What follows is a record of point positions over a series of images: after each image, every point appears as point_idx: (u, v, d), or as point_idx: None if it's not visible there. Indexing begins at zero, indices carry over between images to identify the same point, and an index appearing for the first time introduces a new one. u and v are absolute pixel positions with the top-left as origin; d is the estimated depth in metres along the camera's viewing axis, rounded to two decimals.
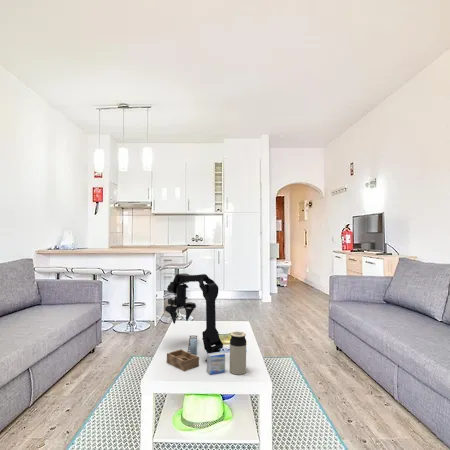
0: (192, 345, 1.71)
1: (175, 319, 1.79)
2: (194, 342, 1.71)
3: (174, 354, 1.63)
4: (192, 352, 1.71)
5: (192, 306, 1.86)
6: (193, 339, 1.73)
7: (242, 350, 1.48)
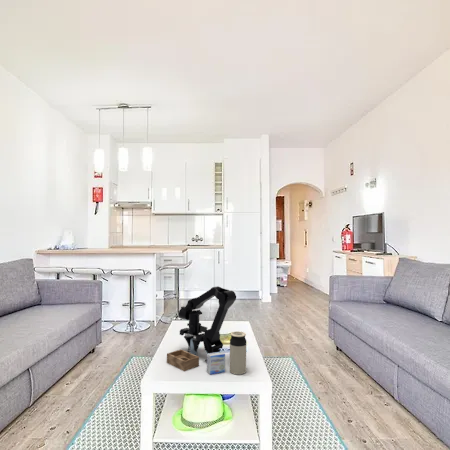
0: (192, 345, 1.71)
1: None
2: None
3: (174, 354, 1.63)
4: (192, 352, 1.71)
5: (196, 338, 1.66)
6: (193, 339, 1.73)
7: (242, 350, 1.48)
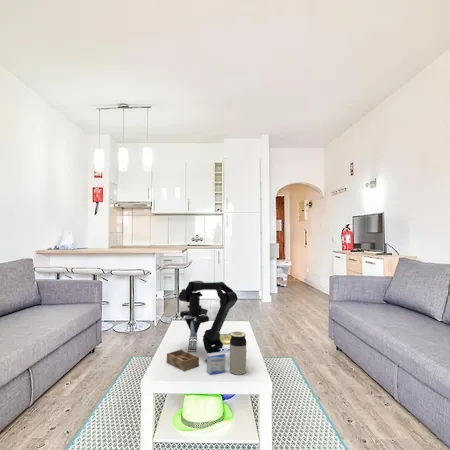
0: (192, 327, 1.71)
1: (189, 327, 1.74)
2: None
3: (174, 354, 1.63)
4: (192, 334, 1.71)
5: (197, 319, 1.67)
6: None
7: (242, 350, 1.48)
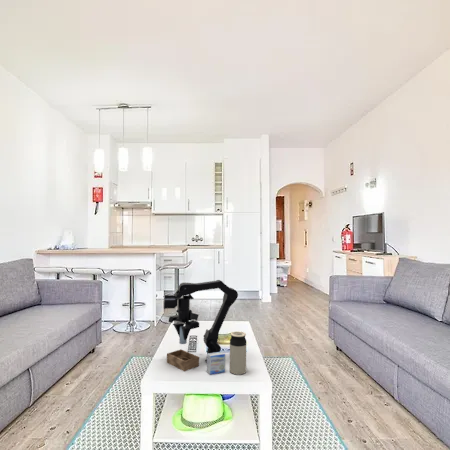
0: (181, 333, 1.58)
1: (178, 333, 1.60)
2: None
3: (174, 354, 1.63)
4: (181, 341, 1.57)
5: (186, 325, 1.53)
6: None
7: (242, 350, 1.48)
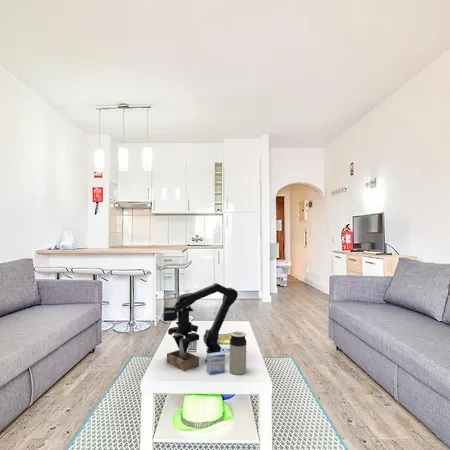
0: (181, 345, 1.57)
1: (178, 345, 1.59)
2: None
3: (174, 354, 1.63)
4: (181, 353, 1.57)
5: (186, 338, 1.52)
6: (182, 339, 1.59)
7: (242, 350, 1.48)
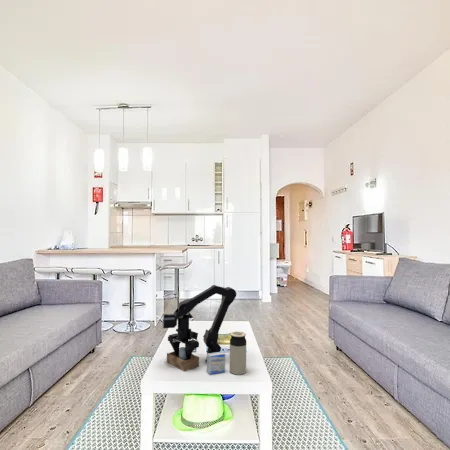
0: (181, 355, 1.57)
1: (174, 351, 1.61)
2: (183, 351, 1.57)
3: (174, 354, 1.63)
4: None
5: (186, 345, 1.52)
6: (182, 348, 1.58)
7: (242, 350, 1.48)
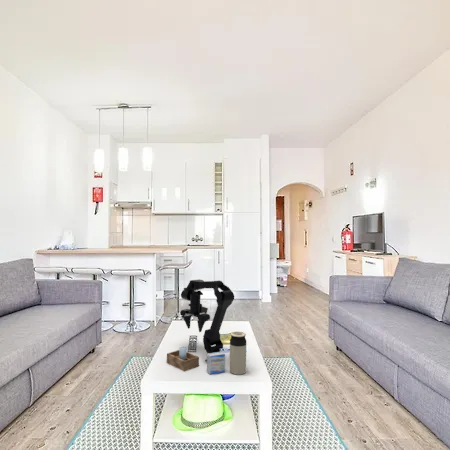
0: (181, 355, 1.57)
1: (186, 324, 1.78)
2: (183, 351, 1.57)
3: (174, 354, 1.63)
4: None
5: (198, 317, 1.69)
6: (182, 348, 1.58)
7: (242, 350, 1.48)
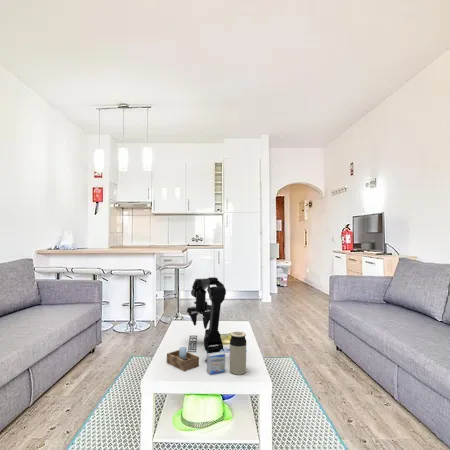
0: (181, 355, 1.57)
1: (193, 321, 1.85)
2: (183, 351, 1.57)
3: (174, 354, 1.63)
4: None
5: (203, 314, 1.77)
6: (182, 348, 1.58)
7: (242, 350, 1.48)
